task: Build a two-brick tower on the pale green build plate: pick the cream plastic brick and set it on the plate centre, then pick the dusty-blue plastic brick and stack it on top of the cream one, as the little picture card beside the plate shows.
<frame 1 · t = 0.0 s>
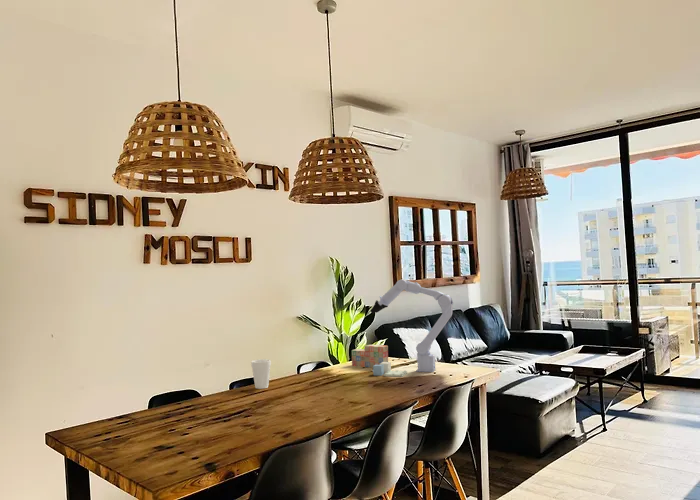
hand: (373, 311, 300), 32 cm above the table, tool tilted 50°, fingers open, 7 cm apart
brick cream: (385, 371, 291), on the table
foam cup: (261, 387, 263), on the table
brick blue: (378, 374, 284), on the table
build plate: (395, 374, 282), on the table
stack of blocks: (370, 366, 310), on the table
instruction page: (378, 370, 295), on the table
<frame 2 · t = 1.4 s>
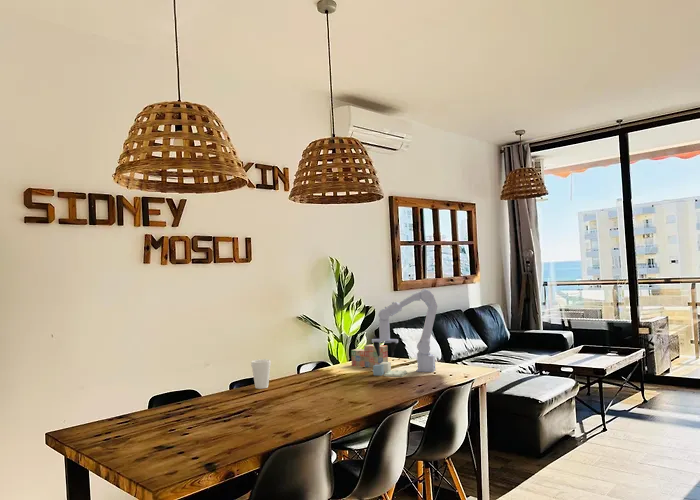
hand: (385, 356, 291), 9 cm above the table, tool pointing down, fingers open, 7 cm apart
nothing on the table moved.
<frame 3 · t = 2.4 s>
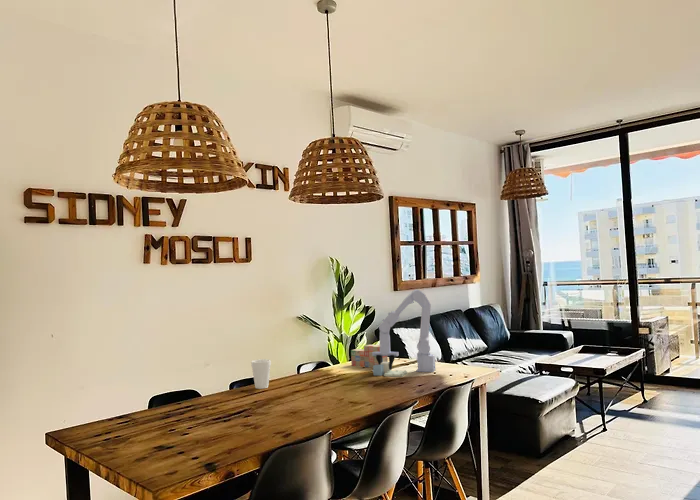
hand: (386, 369, 291), 1 cm above the table, tool pointing down, fingers open, 5 cm apart
brick cream: (386, 371, 291), on the table, touching build plate, gripper
everything else where it was.
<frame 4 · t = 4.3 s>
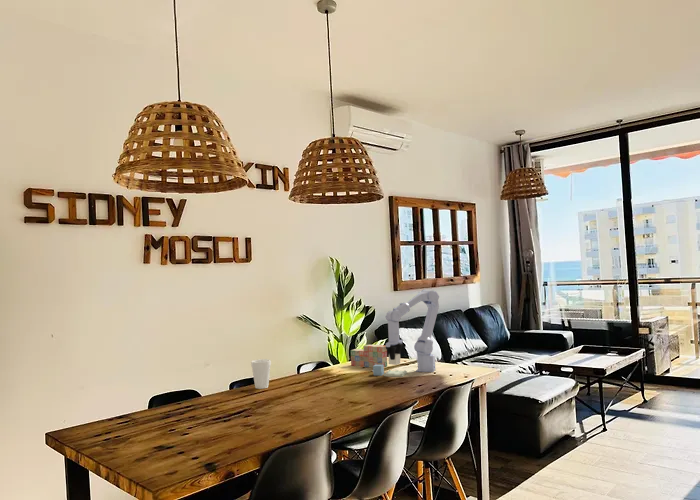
hand: (394, 358, 282), 8 cm above the table, tool pointing down, fingers closed on brick cream, 4 cm apart
brick cream: (394, 363, 282), point 6 cm above the table, touching gripper
everything else where it was.
when the fingers open (3 cm above the table, at t = 5.6 s): brick cream stays where it is, resting on build plate.
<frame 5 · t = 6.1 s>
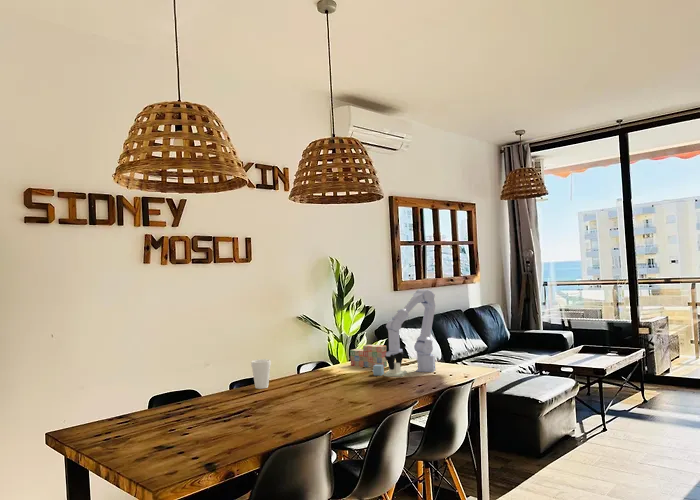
hand: (395, 368, 282), 3 cm above the table, tool pointing down, fingers open, 7 cm apart
brick cream: (394, 372, 282), point 1 cm above the table, touching build plate
everything else where it was.
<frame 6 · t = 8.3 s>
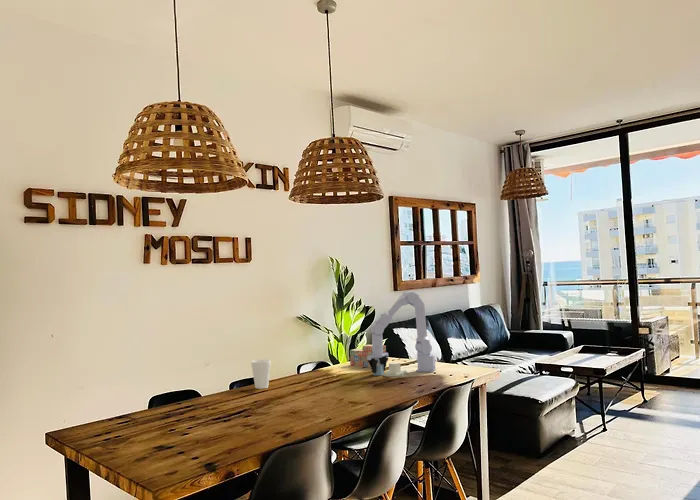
hand: (378, 371, 284), 1 cm above the table, tool pointing down, fingers closed on brick blue, 6 cm apart
brick blue: (378, 374, 284), on the table, touching gripper
when the fingers open (8 cm above the table, at t = 11.0 s): brick blue stays where it is, resting on brick cream.
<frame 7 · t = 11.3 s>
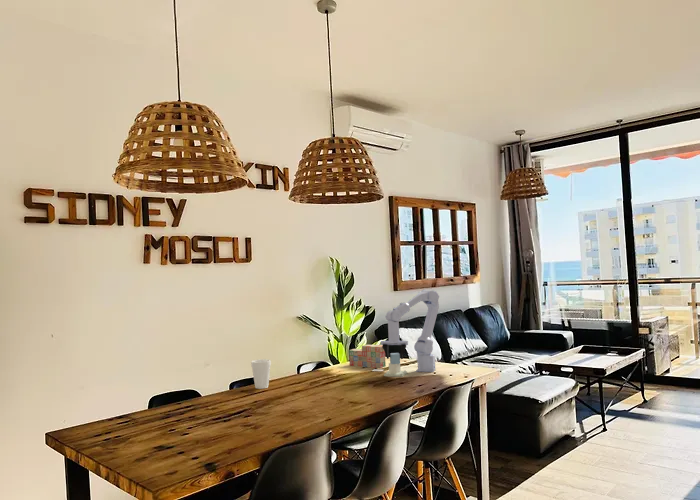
hand: (394, 358, 282), 8 cm above the table, tool pointing down, fingers open, 7 cm apart
brick cream: (394, 372, 282), point 1 cm above the table, touching brick blue, build plate
brick blue: (395, 363, 282), point 6 cm above the table, touching brick cream
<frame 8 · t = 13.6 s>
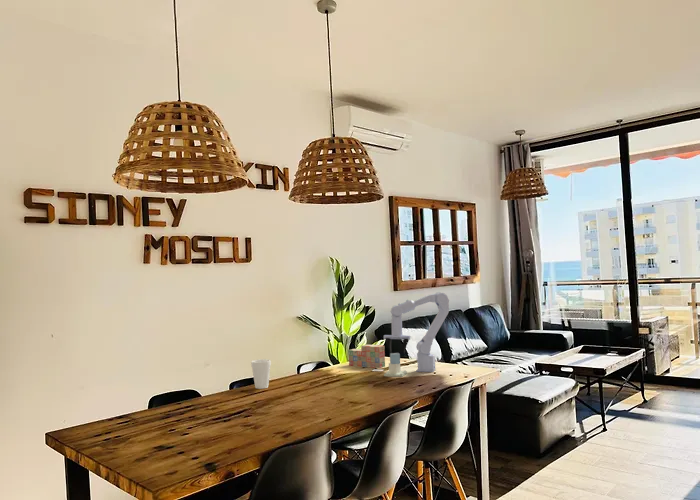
hand: (397, 352, 290), 10 cm above the table, tool pointing down, fingers open, 7 cm apart
at the end: brick cream 0.4 cm off-centre on the build plate, point 1.0 cm above the build plate's base; brick blue 0.4 cm off-centre on the brick cream, point 5.0 cm above the brick cream's base; brick blue tilted 0° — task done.
